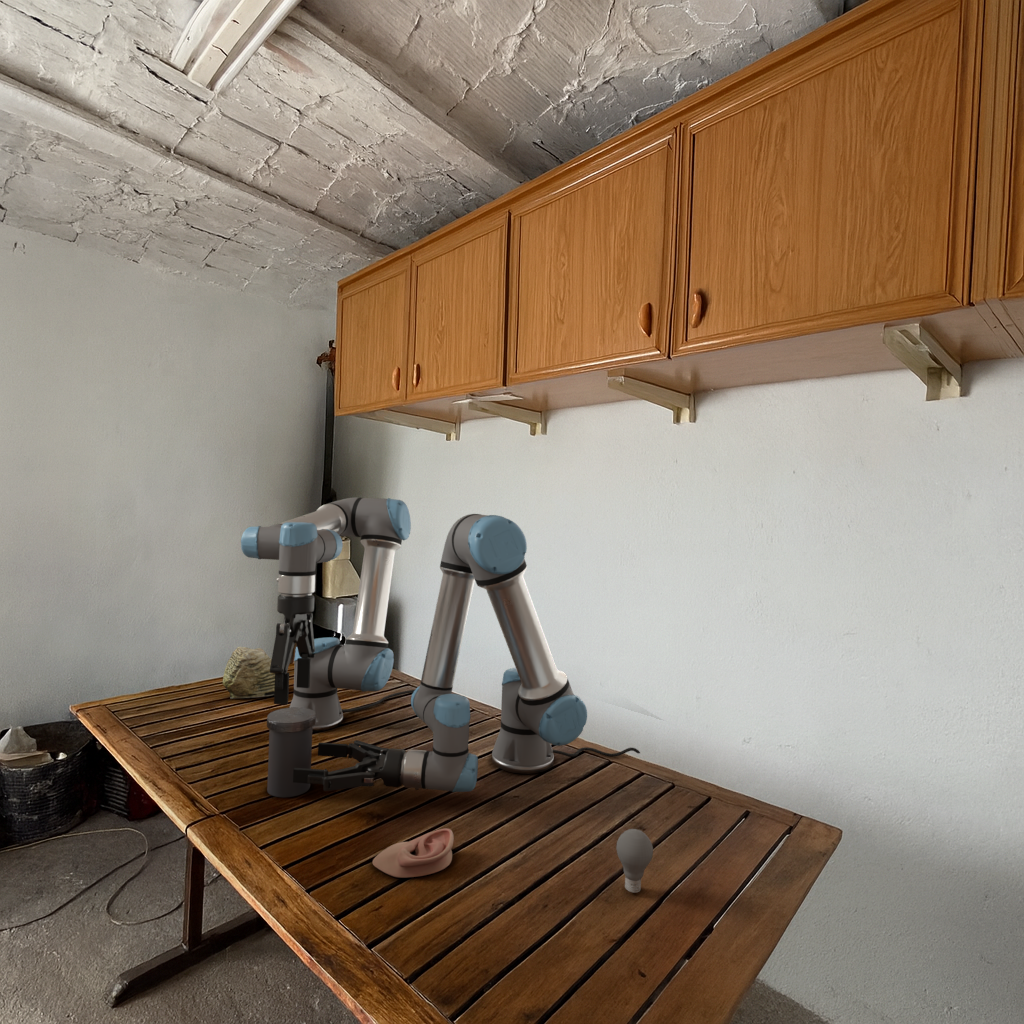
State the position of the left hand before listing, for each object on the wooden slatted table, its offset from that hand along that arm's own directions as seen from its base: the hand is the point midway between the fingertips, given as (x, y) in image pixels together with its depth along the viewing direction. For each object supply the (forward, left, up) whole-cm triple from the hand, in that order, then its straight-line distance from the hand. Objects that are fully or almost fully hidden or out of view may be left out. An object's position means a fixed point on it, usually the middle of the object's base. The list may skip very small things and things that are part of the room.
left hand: (292, 695), depth 137 cm
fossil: (-27, -63, -20) cm, 72 cm away
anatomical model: (0, +40, -20) cm, 45 cm away
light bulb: (-18, +73, -20) cm, 78 cm away
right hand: (-2, +4, -14) cm, 14 cm away
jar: (0, 0, -20) cm, 20 cm away
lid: (0, 0, -5) cm, 5 cm away
